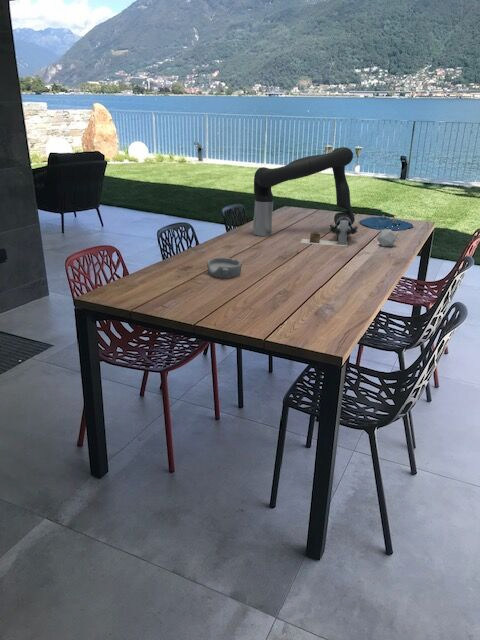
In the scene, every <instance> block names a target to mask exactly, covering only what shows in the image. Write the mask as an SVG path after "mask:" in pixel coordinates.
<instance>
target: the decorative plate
mask: <svg viewBox="0 0 480 640" xmlns="http://www.w3.org/2000/svg"><path fill="white" fill-rule="evenodd" d="M359 224H361V225H362V226H366V227H368V228H369V229H372V230H380V231H381V230H385V229H386V230H390V229H391V230H392V231H402V230H405V231H406V230H408V229H409V228H413V227H414V225H413V223H410V222H408V221H405V220H401V219H397V218H391V217H388V216H386V215H385V214H382V215H381V216H370V217H367V218H364V219H360V220H359ZM399 224H400V225H399ZM395 225H396V226H395ZM397 225H398V226H397ZM392 226H393V227H392ZM385 227H386V228H385ZM387 227H388V228H387ZM398 228H399V229H398Z"/></svg>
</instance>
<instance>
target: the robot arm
mask: <svg viewBox="0 0 480 640" xmlns="http://www.w3.org/2000/svg"><path fill="white" fill-rule="evenodd" d="M353 152H354V151H352V149H350V148H349V147H345V146H343V147H342V146H340V147H337V148H335V149H333V150H332V151H331V152H327V153H323V154H315V155H309V156H305V157H301V158H298V159H294V160H293V161H290V162H289V163H288V164H286V165H284V166H283V165H282V166H280V167H275V168H268V167H264V166H263V167H262V166H261V167H259V168H258V169H257V170H255V173H254V178H253V194H254V215H253V220H252V221H253V222H252V235H254V236H259V237H269V236H271V235H272V232H273V230H272V228H273V211H274V209H273V207H274V195H273V192H272V187H274V186H277V185H280V184H281V183H285V182H289V181H293V180H297V179H301V178H305V177H309V176H312V175H315V174H319V173H321V172H324V171H326V170H328V169H332V173H333V178H334V185H335V195H336V197H335V198H336V206H337V208H340V209H345V210H346V211H341V212H336V213H335V214H334V216H333V221H334V224H335V225H333V224H329V231H330V232H331V233H335V234H336V235H338V236H339V227H340V220H347V221H349V223H348V232H347V236H350V235H351V234H352V235H354V234H356V233H358V226H352V225H354V222H355V220H356V219H355V214H354V212H353V209H352V205H351V195H350V194H351V193H350V191H351V190H350V187H349V184H348V180H347V177H346V170H345V169H346V168H345V167H346V166H348V165H350V163H351V162H352V161H353V159H354V153H353Z"/></svg>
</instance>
